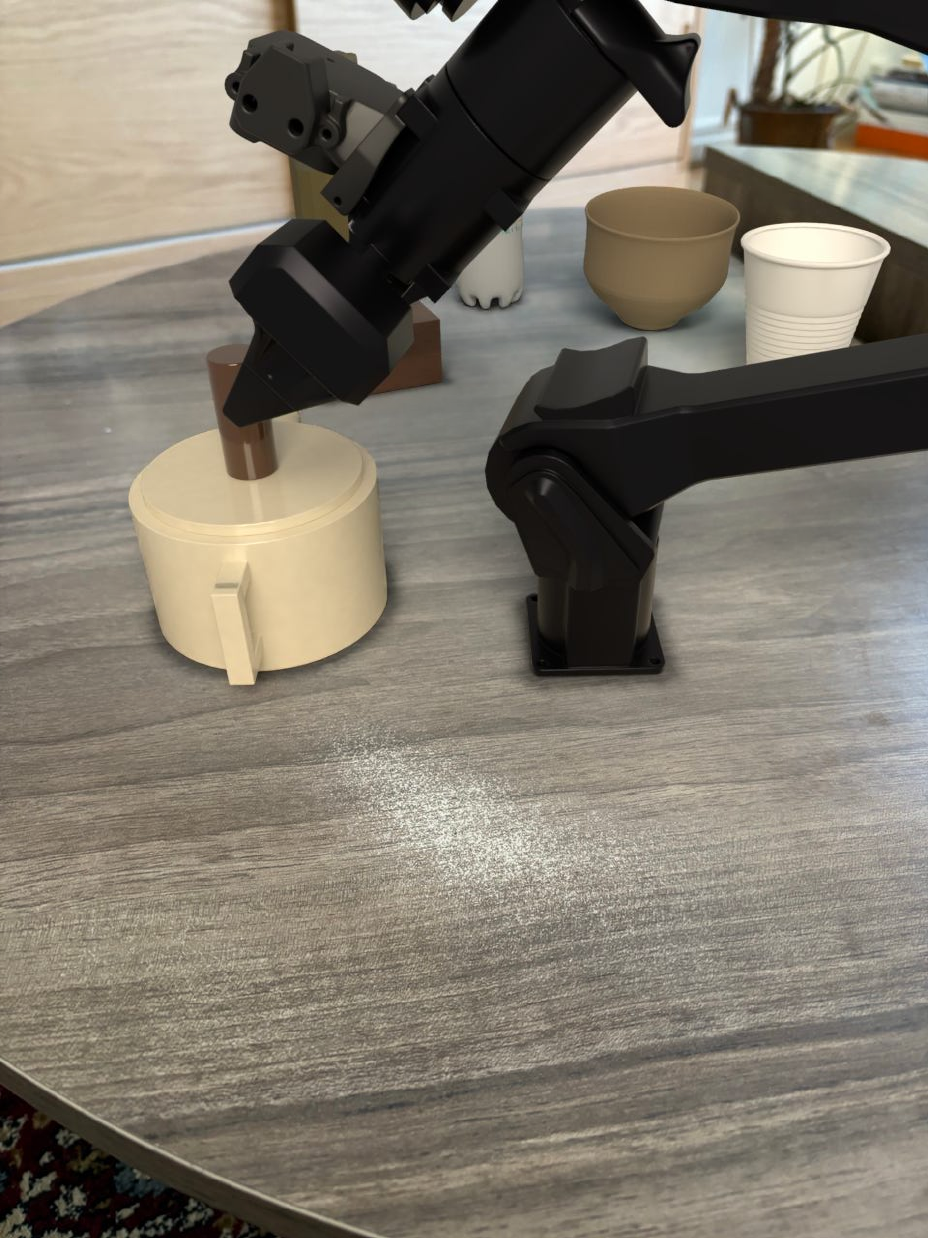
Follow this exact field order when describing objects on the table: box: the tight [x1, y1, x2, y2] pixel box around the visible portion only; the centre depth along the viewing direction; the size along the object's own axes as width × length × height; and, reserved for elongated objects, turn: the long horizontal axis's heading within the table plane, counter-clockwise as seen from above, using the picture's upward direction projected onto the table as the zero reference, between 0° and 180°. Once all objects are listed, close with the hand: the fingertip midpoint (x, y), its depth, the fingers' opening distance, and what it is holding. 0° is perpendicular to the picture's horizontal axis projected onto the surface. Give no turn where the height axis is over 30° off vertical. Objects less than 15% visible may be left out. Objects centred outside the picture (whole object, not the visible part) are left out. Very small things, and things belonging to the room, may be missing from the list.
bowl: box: [582, 185, 741, 331], centre depth 84 cm, size 13×13×10 cm
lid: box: [140, 343, 363, 536], centre depth 48 cm, size 11×11×7 cm
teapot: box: [127, 411, 388, 686], centre depth 53 cm, size 20×12×8 cm, turn 0°
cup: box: [740, 222, 892, 365], centre depth 72 cm, size 10×10×11 cm
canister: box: [287, 50, 398, 242], centre depth 91 cm, size 11×10×20 cm
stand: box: [370, 300, 443, 395], centre depth 79 cm, size 9×9×5 cm
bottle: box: [455, 213, 525, 310], centre depth 87 cm, size 7×7×20 cm
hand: (271, 377), depth 47 cm, fingers open, 9 cm apart
